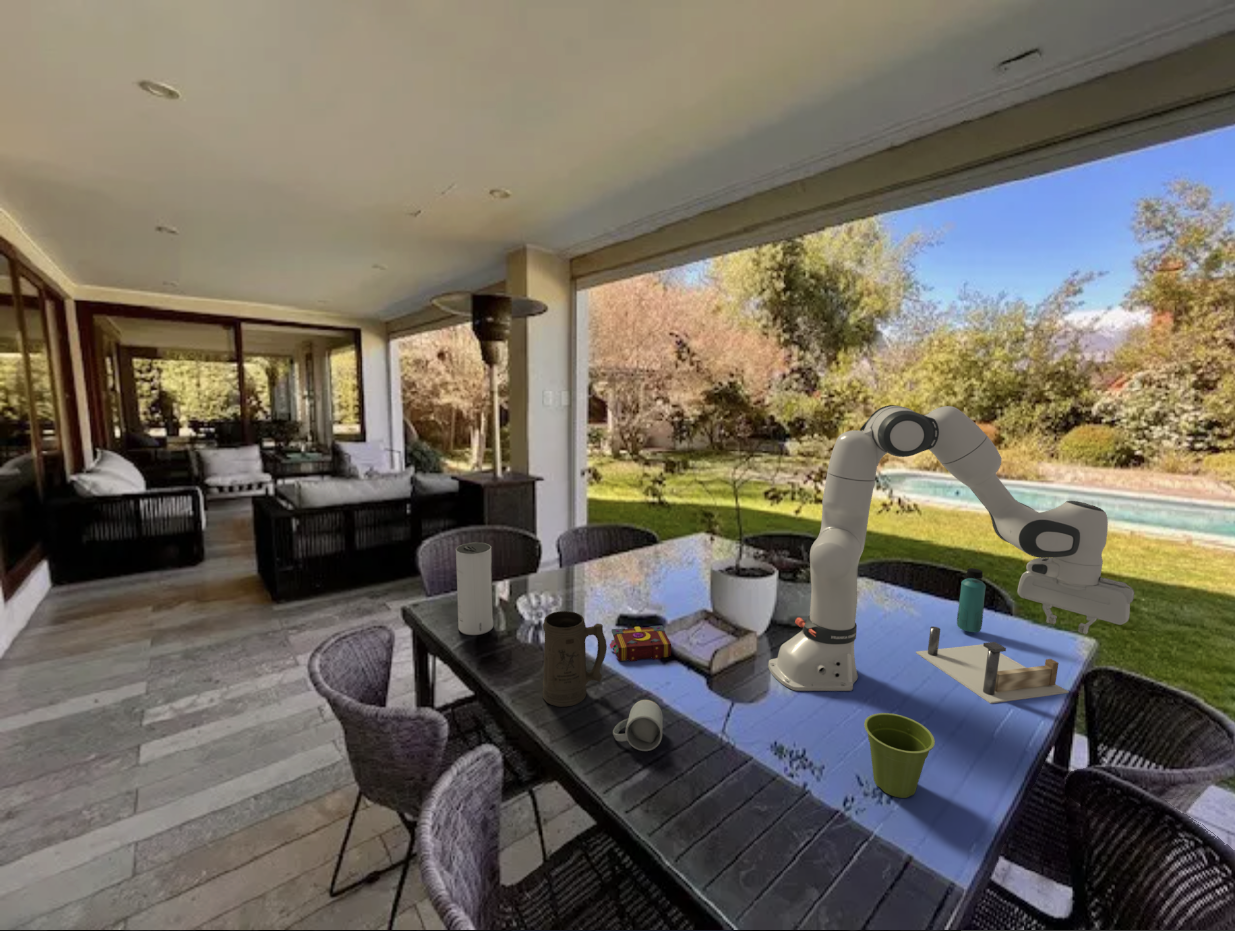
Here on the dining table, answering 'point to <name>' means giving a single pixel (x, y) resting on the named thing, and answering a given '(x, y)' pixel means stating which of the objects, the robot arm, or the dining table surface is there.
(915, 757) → the plant pot
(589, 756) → the dining table surface
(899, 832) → the dining table surface
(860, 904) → the dining table surface
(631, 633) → the decorative book
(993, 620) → the dining table surface
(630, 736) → the ceramic mug
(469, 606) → the speaker
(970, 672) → the mat
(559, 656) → the beer stein
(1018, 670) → the gate
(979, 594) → the beverage bottle
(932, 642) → the post
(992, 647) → the gate post
